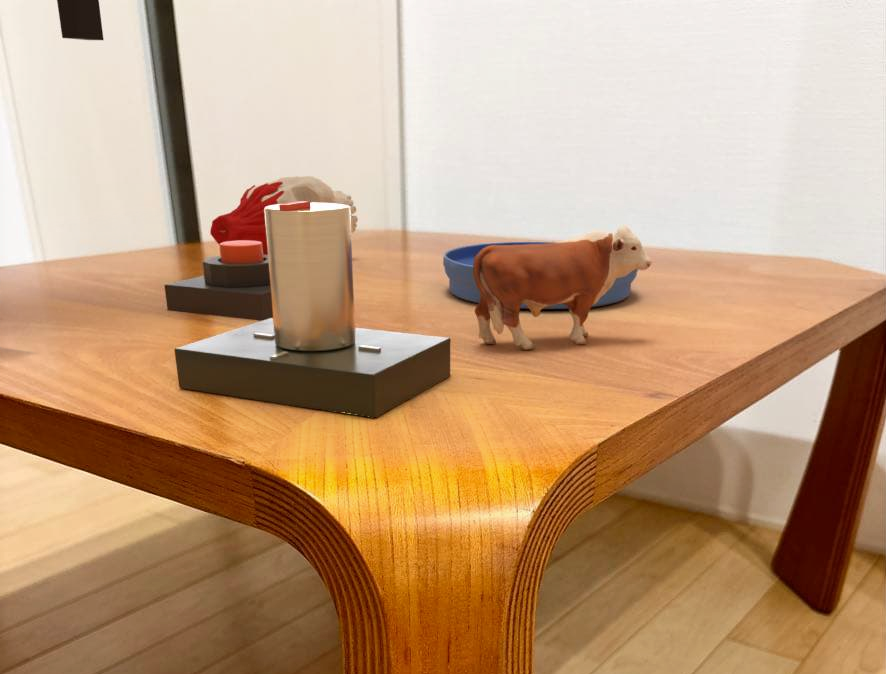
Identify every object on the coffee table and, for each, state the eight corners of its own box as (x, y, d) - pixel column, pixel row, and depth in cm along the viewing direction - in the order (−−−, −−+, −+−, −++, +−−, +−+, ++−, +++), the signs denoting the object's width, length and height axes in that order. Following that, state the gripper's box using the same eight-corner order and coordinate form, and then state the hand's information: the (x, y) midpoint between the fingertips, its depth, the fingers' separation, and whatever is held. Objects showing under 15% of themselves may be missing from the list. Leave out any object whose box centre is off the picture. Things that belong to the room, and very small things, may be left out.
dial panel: (178, 388, 57) (173, 345, 56) (272, 353, 65) (269, 315, 64) (374, 418, 51) (373, 372, 50) (450, 376, 59) (450, 335, 58)
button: (212, 265, 78) (210, 244, 77) (238, 259, 81) (236, 239, 80) (247, 268, 76) (245, 246, 76) (272, 262, 79) (270, 241, 79)
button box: (167, 310, 78) (161, 262, 77) (232, 293, 86) (228, 249, 84) (262, 321, 75) (258, 271, 73) (322, 302, 82) (319, 256, 80)
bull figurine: (651, 343, 68) (662, 228, 64) (478, 354, 65) (480, 234, 61) (625, 330, 71) (635, 221, 68) (460, 340, 68) (462, 226, 65)
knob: (304, 330, 60) (295, 196, 56) (370, 337, 58) (365, 199, 54) (258, 346, 56) (246, 202, 52) (328, 355, 54) (320, 206, 50)
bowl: (407, 288, 88) (406, 250, 87) (553, 272, 97) (555, 237, 96) (519, 321, 75) (520, 276, 73) (677, 299, 83) (681, 259, 82)
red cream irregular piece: (365, 254, 105) (247, 284, 98) (317, 242, 113) (205, 269, 106) (354, 171, 100) (229, 196, 93) (305, 165, 108) (187, 187, 101)
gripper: (-95, -387, 58) (-21, 36, 68) (60, -425, 53) (115, 35, 64) (1, -339, 64) (55, 42, 75) (148, -369, 59) (184, 42, 70)
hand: (83, 38), depth 69 cm, fingers closed
